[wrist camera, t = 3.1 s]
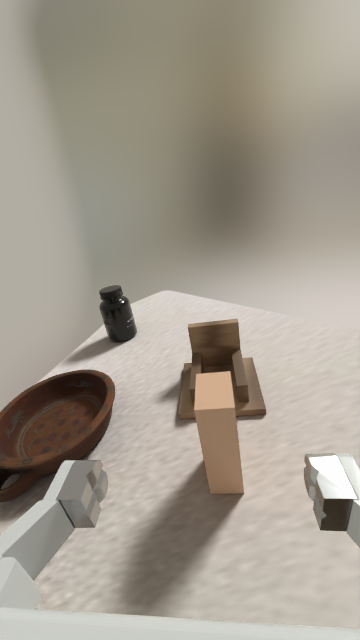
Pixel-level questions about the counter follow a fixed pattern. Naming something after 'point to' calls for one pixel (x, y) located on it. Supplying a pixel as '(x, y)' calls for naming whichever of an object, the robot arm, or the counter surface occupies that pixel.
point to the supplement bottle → (117, 314)
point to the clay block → (218, 432)
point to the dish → (52, 426)
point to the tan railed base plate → (220, 367)
